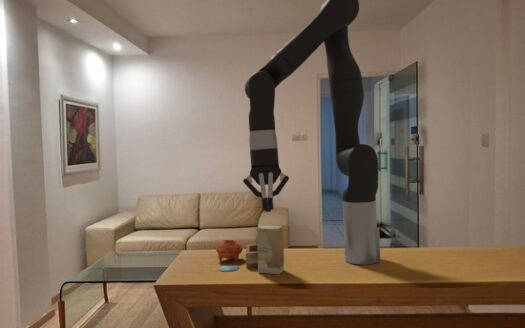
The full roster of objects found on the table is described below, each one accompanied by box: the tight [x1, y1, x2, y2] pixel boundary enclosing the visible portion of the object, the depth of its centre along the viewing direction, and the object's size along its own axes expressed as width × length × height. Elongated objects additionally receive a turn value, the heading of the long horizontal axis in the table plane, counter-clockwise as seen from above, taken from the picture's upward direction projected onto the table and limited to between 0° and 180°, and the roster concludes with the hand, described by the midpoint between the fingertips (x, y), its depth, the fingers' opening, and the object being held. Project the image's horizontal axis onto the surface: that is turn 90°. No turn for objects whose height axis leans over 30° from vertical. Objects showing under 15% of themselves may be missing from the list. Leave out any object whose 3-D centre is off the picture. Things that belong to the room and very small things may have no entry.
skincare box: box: [256, 224, 285, 275], centre depth 103 cm, size 6×4×12 cm
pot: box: [215, 239, 243, 263], centre depth 117 cm, size 8×8×7 cm
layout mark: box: [217, 264, 240, 273], centre depth 108 cm, size 6×6×1 cm
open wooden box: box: [245, 243, 258, 269], centre depth 113 cm, size 8×10×4 cm
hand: (268, 211), depth 104 cm, fingers closed
